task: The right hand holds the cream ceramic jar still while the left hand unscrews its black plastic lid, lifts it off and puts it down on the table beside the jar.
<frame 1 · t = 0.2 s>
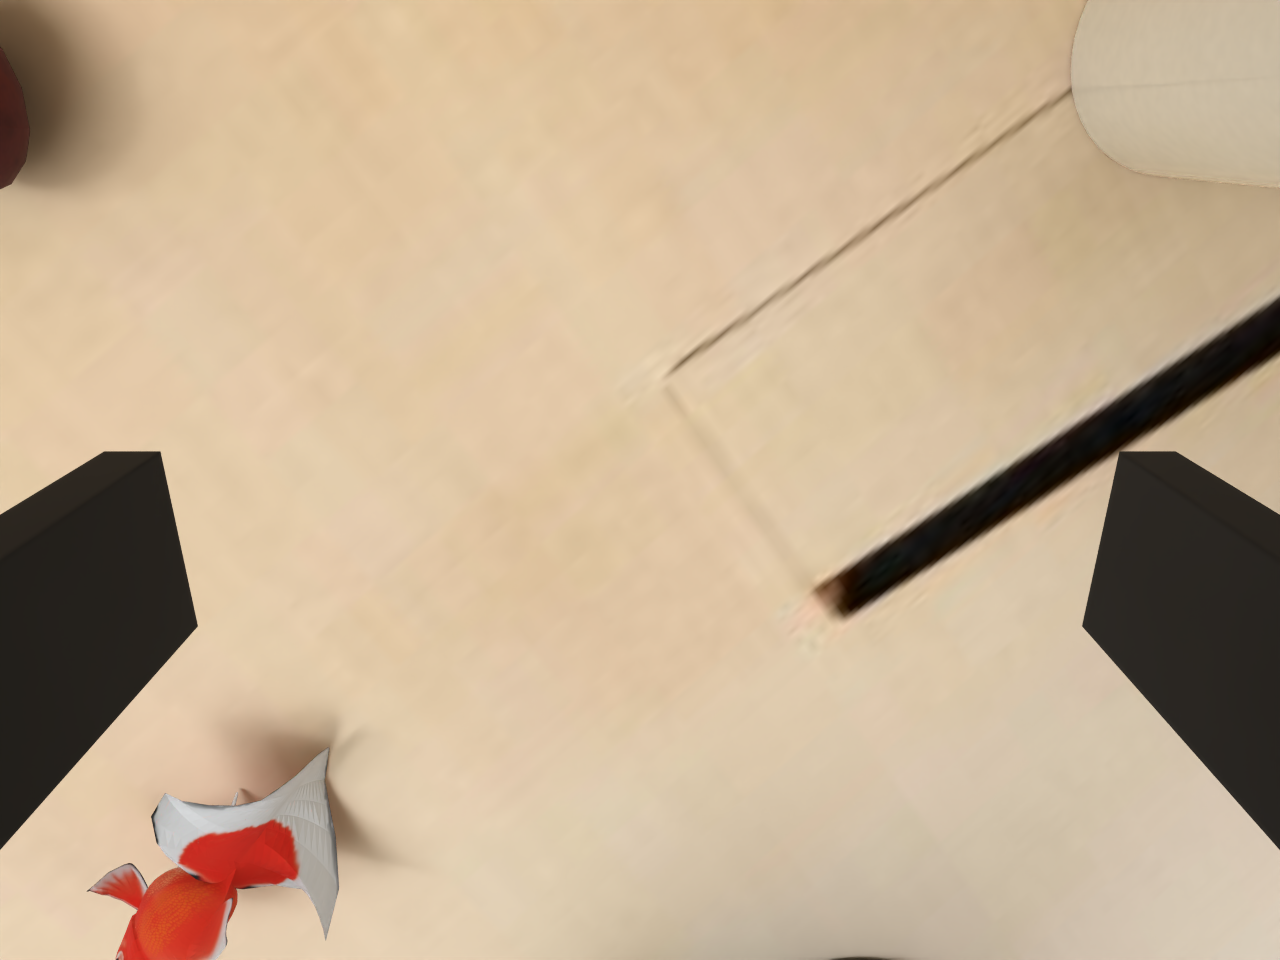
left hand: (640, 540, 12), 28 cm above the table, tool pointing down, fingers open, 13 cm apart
jar: (1194, 47, 35), on the table
fish: (253, 809, 50), on the table
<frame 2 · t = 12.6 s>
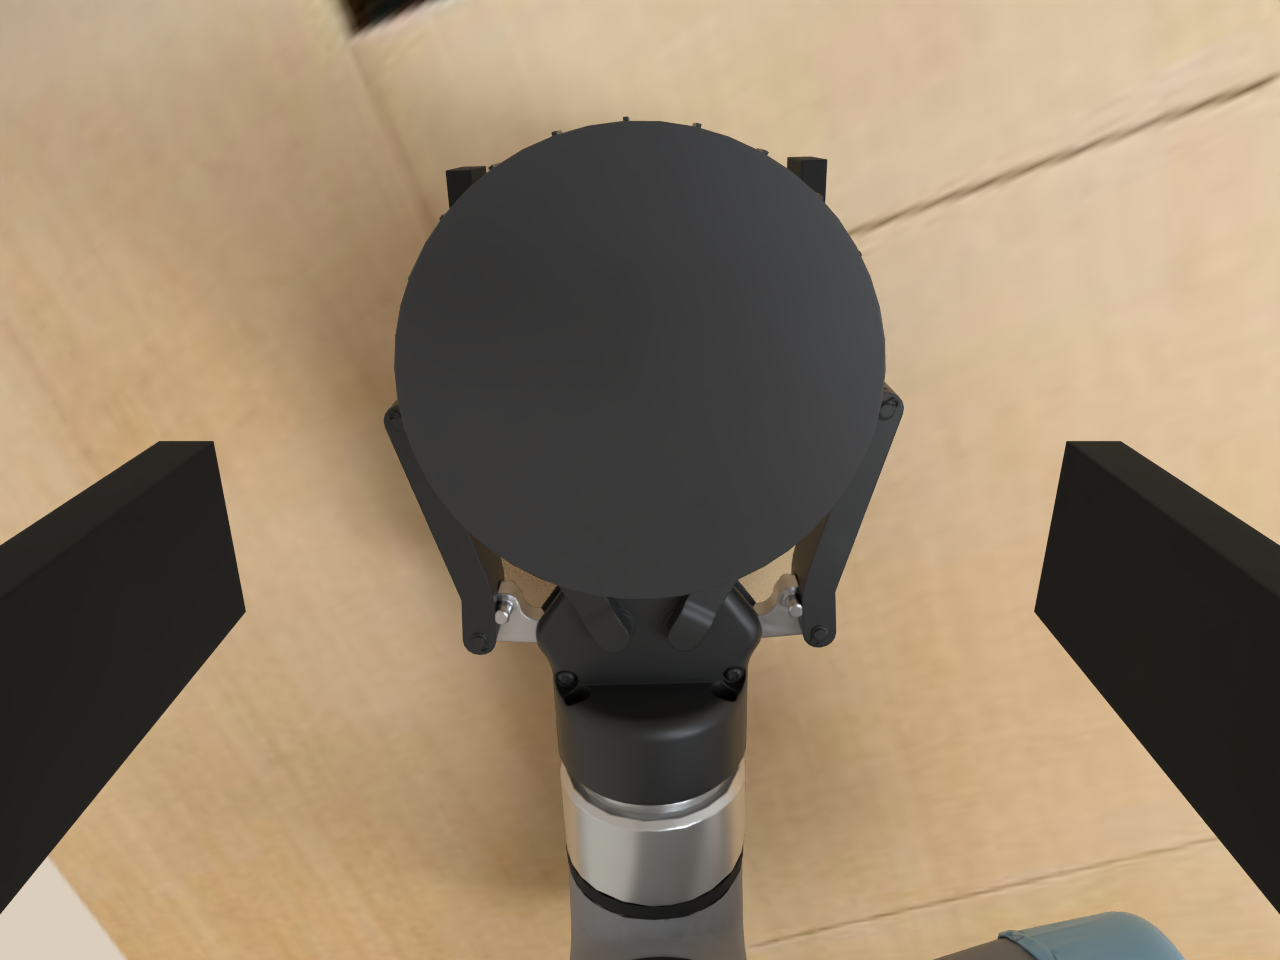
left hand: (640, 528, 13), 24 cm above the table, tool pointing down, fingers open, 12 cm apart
right hand: (636, 163, 27), fingers closed on jar, 10 cm apart
lid: (639, 380, 20), point 16 cm above the table, screwed on, not yet turned
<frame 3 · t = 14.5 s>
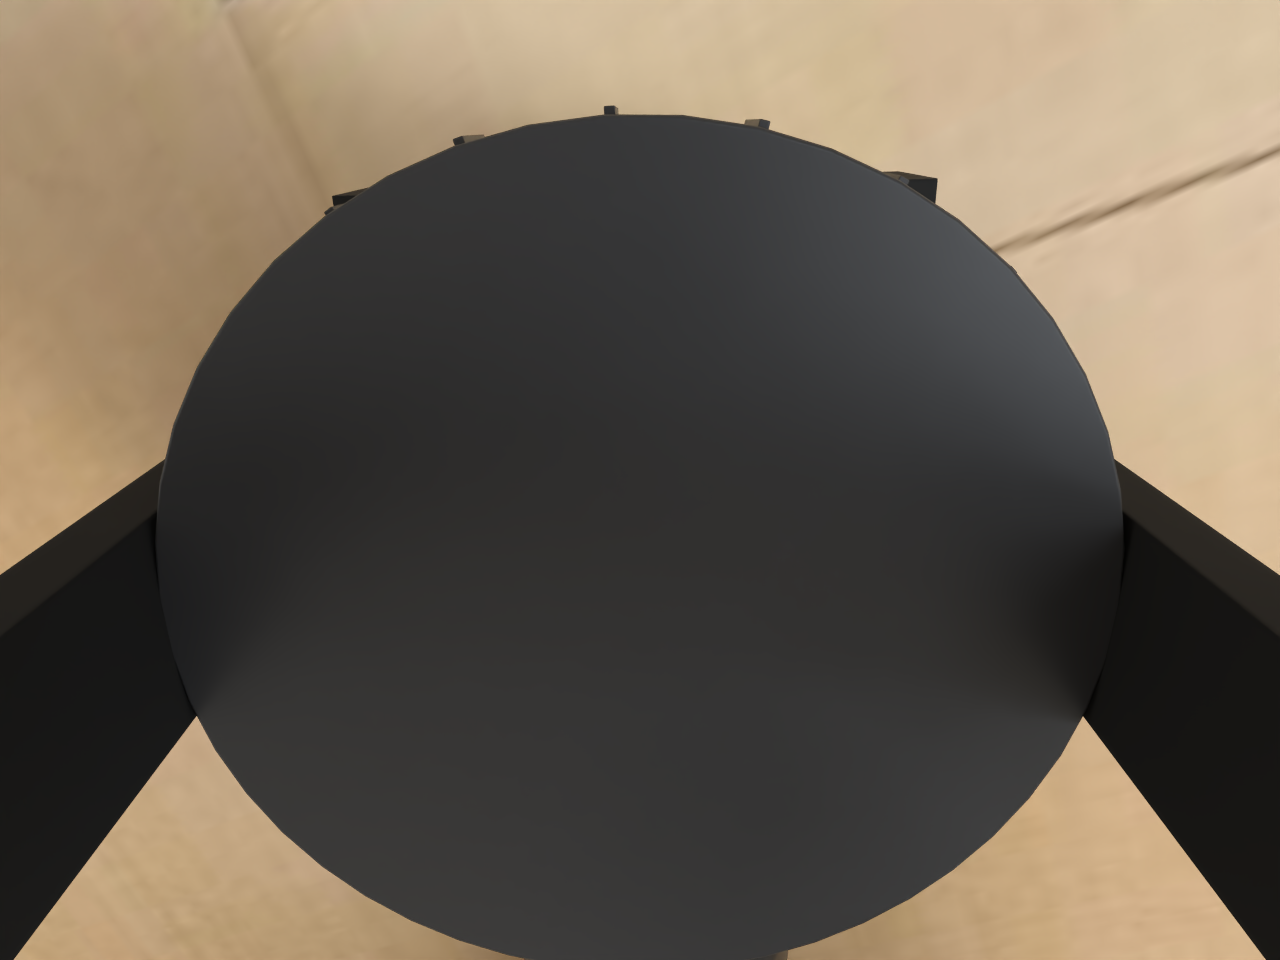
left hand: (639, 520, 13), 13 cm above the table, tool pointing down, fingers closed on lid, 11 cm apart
lid: (639, 613, 11), point 16 cm above the table, screwed on, not yet turned, touching left hand
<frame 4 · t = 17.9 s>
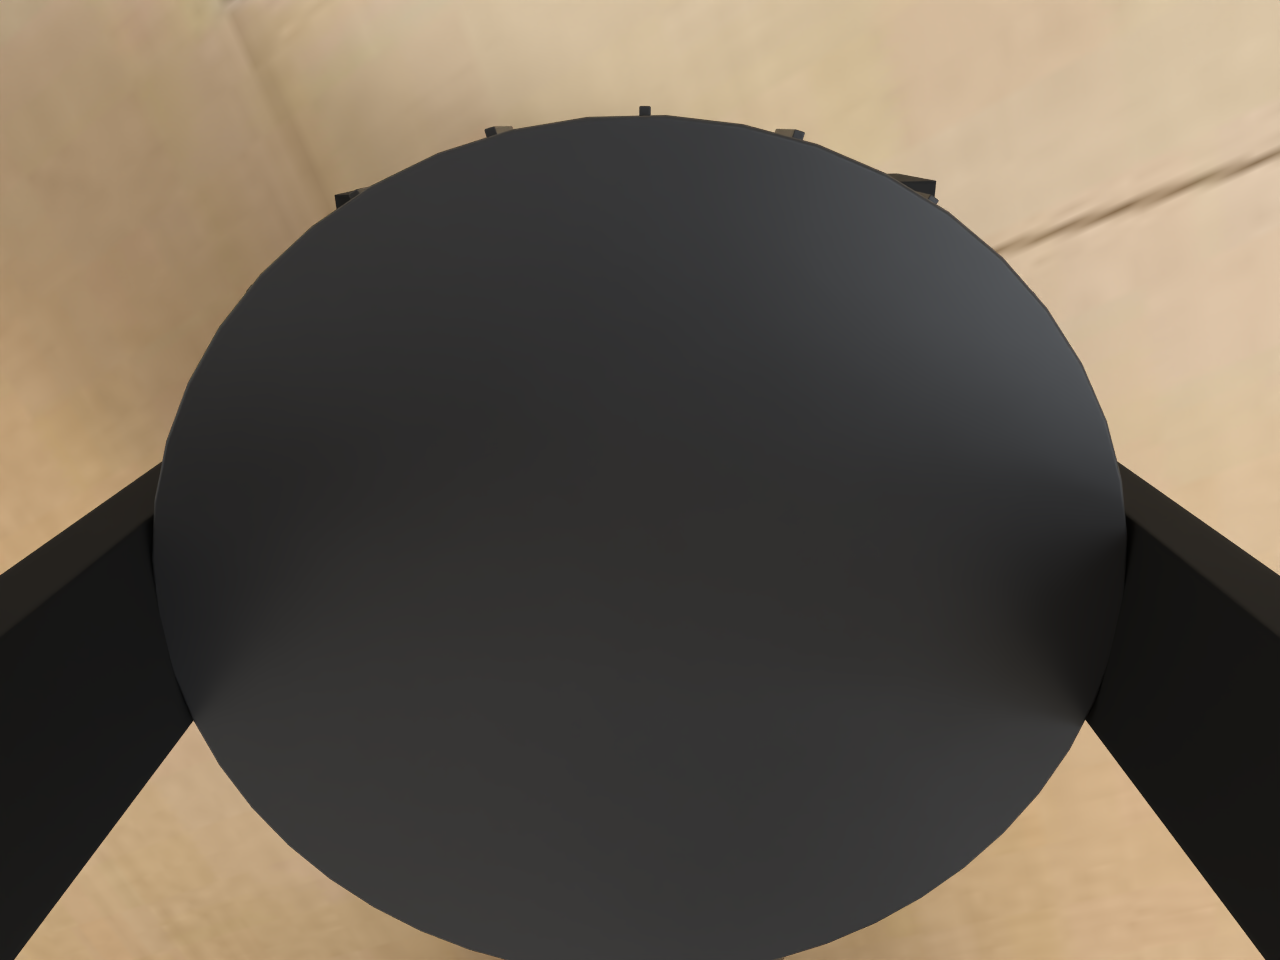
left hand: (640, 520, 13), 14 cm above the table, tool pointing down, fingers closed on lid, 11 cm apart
lid: (639, 617, 10), point 16 cm above the table, turned 122° so far, risen 0.2 cm, still on its thread, touching left hand
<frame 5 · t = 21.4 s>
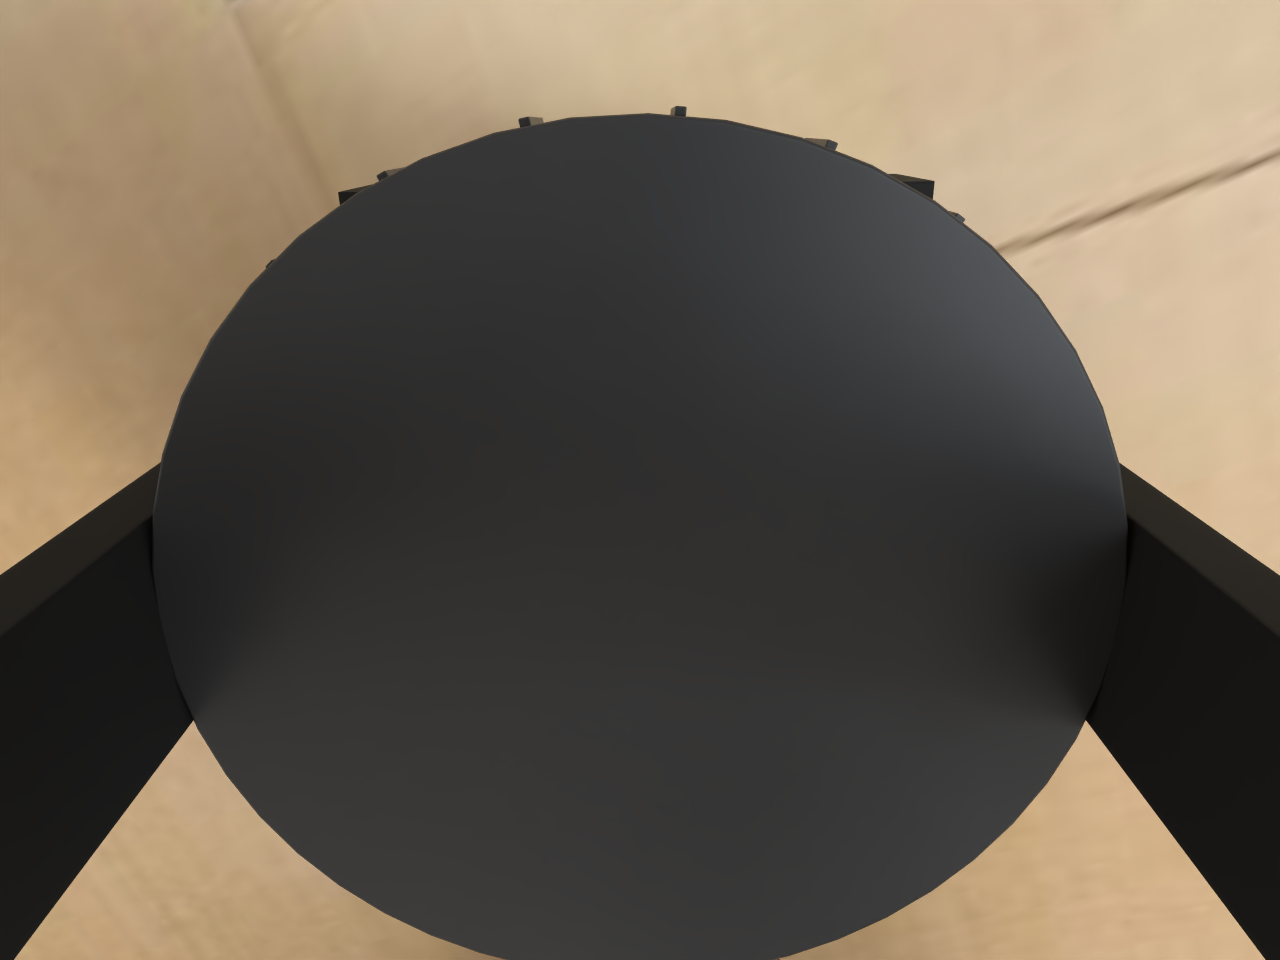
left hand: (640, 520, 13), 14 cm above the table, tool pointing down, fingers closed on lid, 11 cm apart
lid: (639, 617, 10), point 17 cm above the table, turned 244° so far, risen 0.3 cm, still on its thread, touching left hand
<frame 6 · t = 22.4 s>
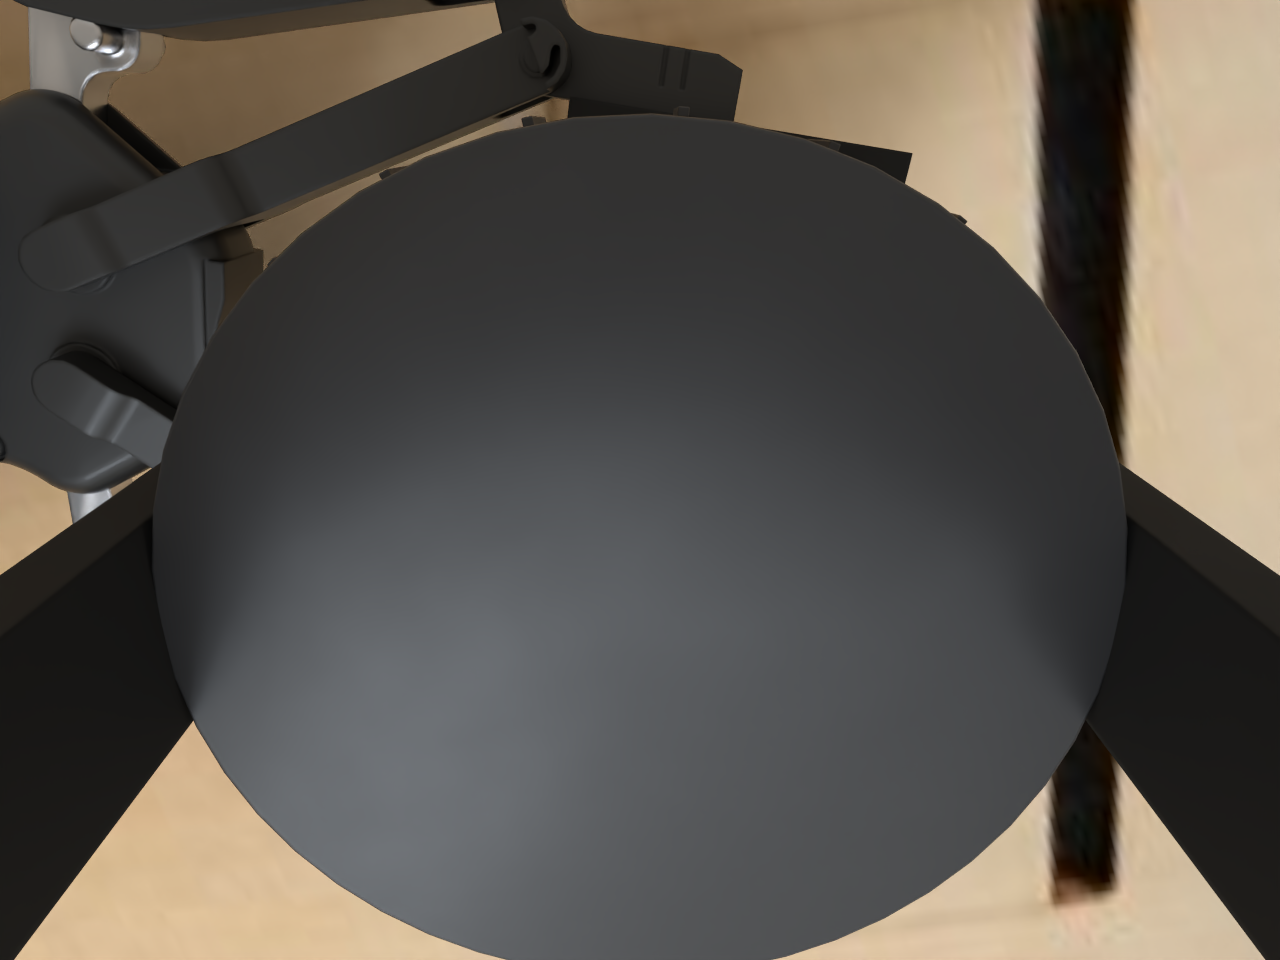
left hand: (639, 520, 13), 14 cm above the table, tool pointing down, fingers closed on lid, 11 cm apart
lid: (639, 617, 10), point 17 cm above the table, off its thread, touching left hand
when the left hand's fingers open (0 cm above the table, at t = 28.1 s): lid drops 2 cm, point 1 cm above the table.
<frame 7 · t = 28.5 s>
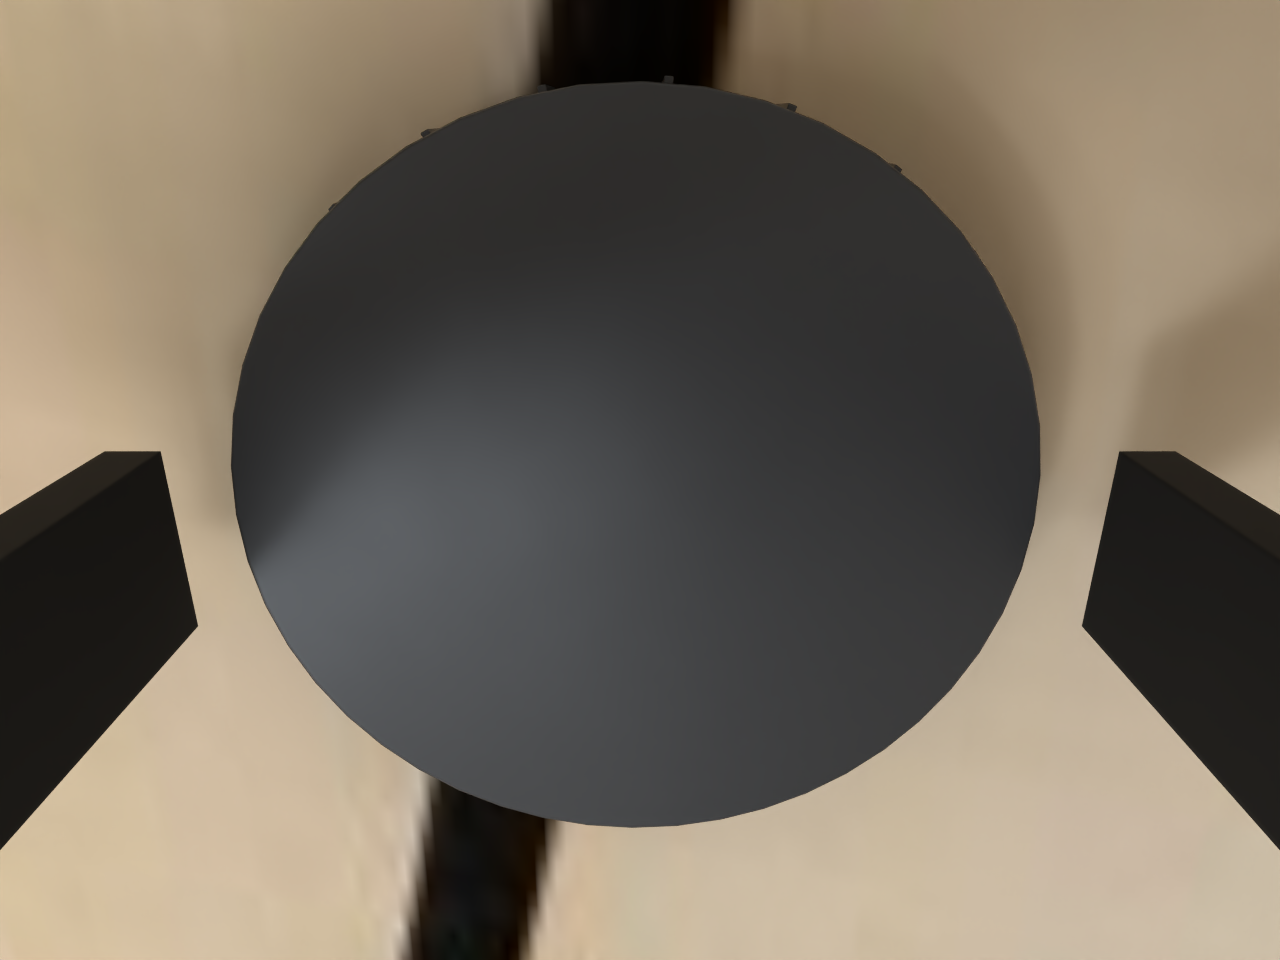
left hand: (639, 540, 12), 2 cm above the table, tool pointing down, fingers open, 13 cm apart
lid: (636, 509, 12), point 1 cm above the table, off its thread
when the right hand's fingers open (7 cm above the table, at t = 29.1 s): jar stays where it is, on the table.
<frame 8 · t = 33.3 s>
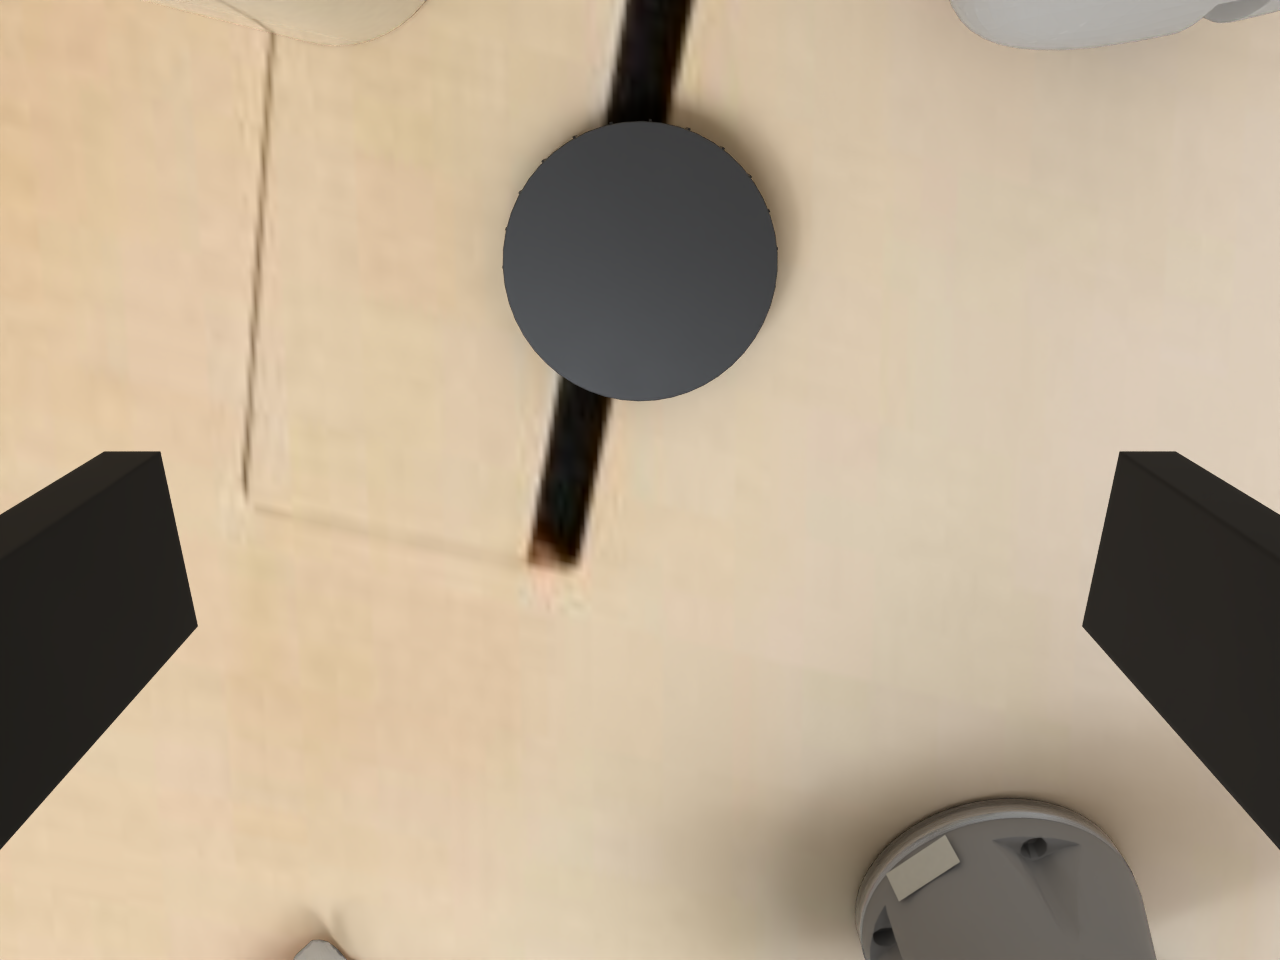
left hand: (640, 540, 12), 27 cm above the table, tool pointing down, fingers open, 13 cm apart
lid: (640, 268, 36), point 1 cm above the table, off its thread
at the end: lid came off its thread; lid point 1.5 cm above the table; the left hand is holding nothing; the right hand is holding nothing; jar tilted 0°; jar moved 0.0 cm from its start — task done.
